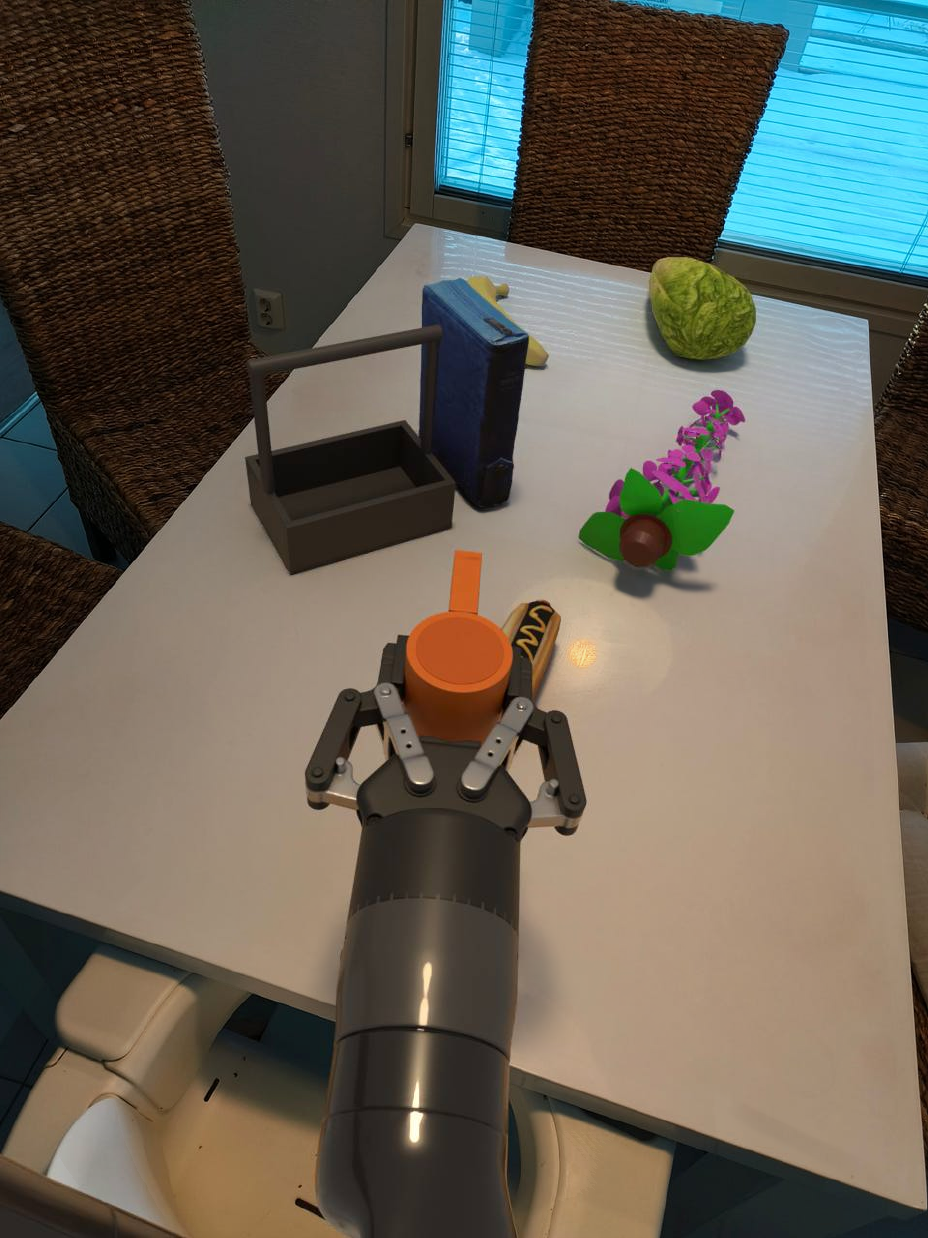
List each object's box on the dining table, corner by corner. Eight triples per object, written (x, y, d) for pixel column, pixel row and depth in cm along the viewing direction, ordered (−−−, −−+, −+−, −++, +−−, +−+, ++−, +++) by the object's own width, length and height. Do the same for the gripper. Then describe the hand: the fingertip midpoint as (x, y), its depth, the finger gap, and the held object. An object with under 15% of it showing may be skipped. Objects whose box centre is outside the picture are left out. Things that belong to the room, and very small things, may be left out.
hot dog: (460, 729, 71) (466, 692, 68) (509, 622, 80) (516, 585, 76) (517, 749, 70) (525, 712, 67) (560, 639, 79) (569, 602, 75)
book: (516, 504, 92) (544, 333, 77) (474, 518, 90) (495, 345, 75) (450, 433, 100) (464, 266, 85) (410, 444, 98) (418, 274, 83)
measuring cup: (491, 793, 49) (511, 697, 42) (394, 783, 49) (400, 685, 42) (497, 656, 56) (516, 555, 50) (413, 646, 56) (421, 544, 49)
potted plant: (575, 609, 87) (664, 457, 112) (738, 600, 78) (795, 437, 103) (538, 504, 82) (640, 368, 106) (709, 481, 72) (777, 338, 97)
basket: (288, 575, 82) (272, 398, 67) (248, 504, 88) (226, 328, 74) (453, 527, 89) (470, 356, 74) (404, 464, 95) (411, 296, 81)
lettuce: (719, 256, 128) (666, 202, 121) (785, 329, 111) (728, 270, 104) (659, 318, 134) (606, 269, 127) (713, 396, 116) (654, 344, 110)
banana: (456, 301, 107) (475, 254, 122) (442, 341, 110) (462, 290, 126) (555, 344, 109) (562, 292, 124) (538, 382, 112) (546, 327, 127)
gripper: (615, 924, 34) (596, 618, 46) (257, 888, 34) (329, 590, 45) (580, 991, 40) (571, 703, 51) (271, 961, 39) (333, 678, 51)
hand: (457, 651), depth 48 cm, fingers closed on measuring cup, 5 cm apart
